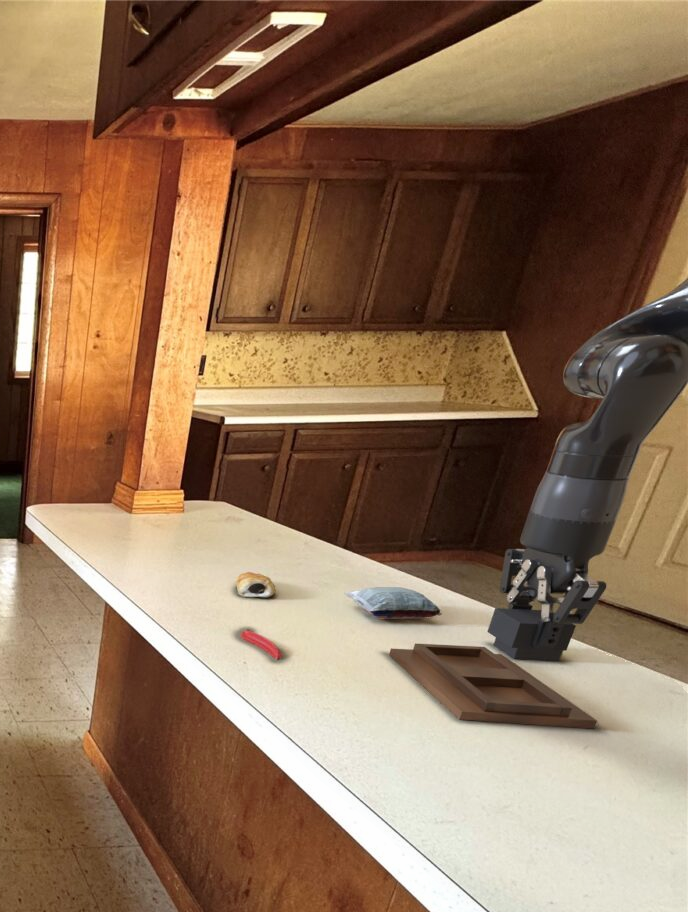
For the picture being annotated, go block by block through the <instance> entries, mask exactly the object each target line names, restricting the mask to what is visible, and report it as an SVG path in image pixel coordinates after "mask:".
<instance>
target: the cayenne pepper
mask: <svg viewBox="0 0 688 912" xmlns="http://www.w3.org/2000/svg"><path fill="white" fill-rule="evenodd" d="M240 637H241V639H242V640H244V641H245V642H248V643H250V644H252V645H254V646H256V647H258V648H260V649H262V650H263V651H265V652H266V653H268V655H270V656H271V657H272V658H273V659H276V661H278V660H279V659H282V657H283V654H282V652H281V650H280V649H279V648H278V647H277V646H276V645H275V644H274V643H273V642H272V641H271V640H270V639H268V638H267V637H264V636H263V635H261V634H259V633H257V632H254V631H250V628H247V629H245V630H244V631H242V632H241V633H240Z"/></svg>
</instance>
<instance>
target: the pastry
mask: <svg viewBox="0 0 688 912" xmlns="http://www.w3.org/2000/svg"><path fill="white" fill-rule="evenodd" d="M235 586H236V587H237V589H236V591H237V594H238V595H239V596H241V597H243V598H270V597H272V596H273V595H274V594H275V592H276V585H275V584H274V582H273V581H272V580H271V578H270V577H269V576H266V575H264V574H261V573H255V572H251V571H248V572H243V573H240V574H239V576H238V577H237V579H236V580H235Z"/></svg>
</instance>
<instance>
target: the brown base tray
mask: <svg viewBox="0 0 688 912" xmlns="http://www.w3.org/2000/svg"><path fill="white" fill-rule="evenodd" d="M388 656H389V657H390V658H391V659H393V660H394V662H396V663H397V664H398V665H399V666H400V667H401V668H402V669H404V670H405V671H406V673H408V674H409V675H410V676H411V677H412V678H413V679H414V680H415V681H417V682H418V683H419V684H420V685H421V687H423V688H424V689H425V690H426V691H428V692H429V693H430V695H432V696H433V697H434V698H435V699H436V700H437V701H438V702H439V703H441V705H443V706H444V708H446V709H447V710H448V711H449V712H450V713H451V714H453V715H454V716H455V717H456V718H457V719H458V720H462V721H474V722H475V721H476V722H477V721H478V722H491V723H504V724H520V725H533V726H534V725H535V726H549V727H562V728H577V729H593V730H594V729H595V728H596V726H597V724H598V720H597V719H596V718H595V717H593V716H592V715H590V714H589V713H587V712H586V711H584V710H583V709H581V708H580V707H579V706H577V705H576V704H574V703H573V702H571V701H570V700H569V699H567V698H566V697H564V696H562V695H561V694H560V693H559V692H557V691H555V690H554V689H552V687H550V686H548V685H546V684H545V683H544V682H542V681H541V680H539V679H538V678H537V677H535V676H533V675H532V674H531V673H530V672H528V671H526V670H525V669H524V668H522V667H521V666H519V665H518V664H516V663H515V662H513V661H512V660H511V659H509V658H508V657H506V656H505V655H503V654H501V653H495V652H493V651H491V650H490V649H488V648H487V647H486V646H475V645H453V644H452V645H451V644H435V643H414V645H413V649H411V648H407V649H406V648H390V651H389V654H388Z"/></svg>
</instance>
